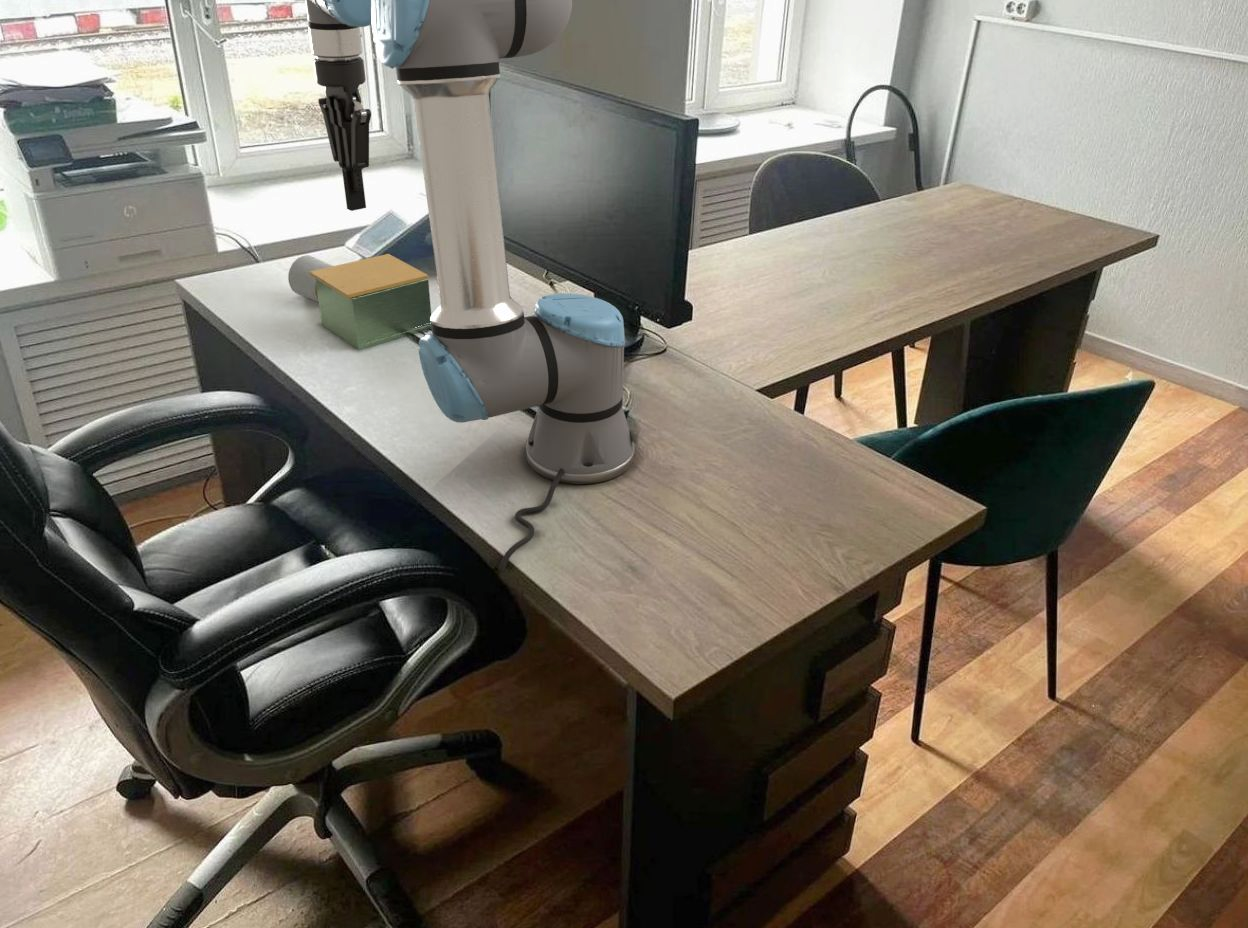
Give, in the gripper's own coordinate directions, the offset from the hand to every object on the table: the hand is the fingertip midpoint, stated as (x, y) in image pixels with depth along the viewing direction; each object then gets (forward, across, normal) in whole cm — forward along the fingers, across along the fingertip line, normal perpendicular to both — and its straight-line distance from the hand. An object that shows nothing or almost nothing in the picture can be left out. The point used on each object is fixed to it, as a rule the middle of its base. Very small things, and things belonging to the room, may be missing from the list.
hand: (356, 208), depth 166 cm
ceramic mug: (+22, +20, -1) cm, 29 cm away
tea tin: (+22, +1, -2) cm, 22 cm away
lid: (+13, +1, -1) cm, 13 cm away
